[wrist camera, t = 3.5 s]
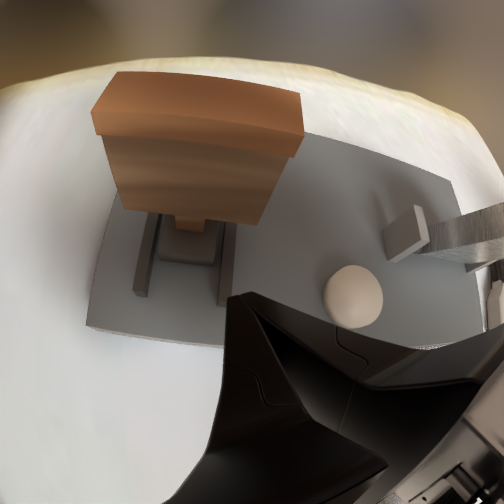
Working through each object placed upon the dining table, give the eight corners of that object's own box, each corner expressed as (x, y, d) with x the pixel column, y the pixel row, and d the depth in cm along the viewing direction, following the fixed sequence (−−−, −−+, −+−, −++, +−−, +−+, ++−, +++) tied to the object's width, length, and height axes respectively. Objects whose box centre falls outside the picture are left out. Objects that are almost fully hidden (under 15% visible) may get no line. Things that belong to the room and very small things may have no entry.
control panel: (467, 341, 19) (514, 328, 14) (97, 330, 14) (57, 312, 9) (439, 190, 26) (471, 162, 21) (150, 126, 21) (147, 71, 16)
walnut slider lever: (244, 270, 15) (307, 159, 7) (129, 256, 14) (78, 133, 6) (248, 206, 17) (297, 79, 9) (145, 193, 16) (126, 59, 8)
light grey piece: (464, 269, 19) (566, 254, 9) (400, 259, 18) (531, 233, 8) (464, 241, 20) (562, 218, 9) (400, 225, 18) (524, 182, 8)
